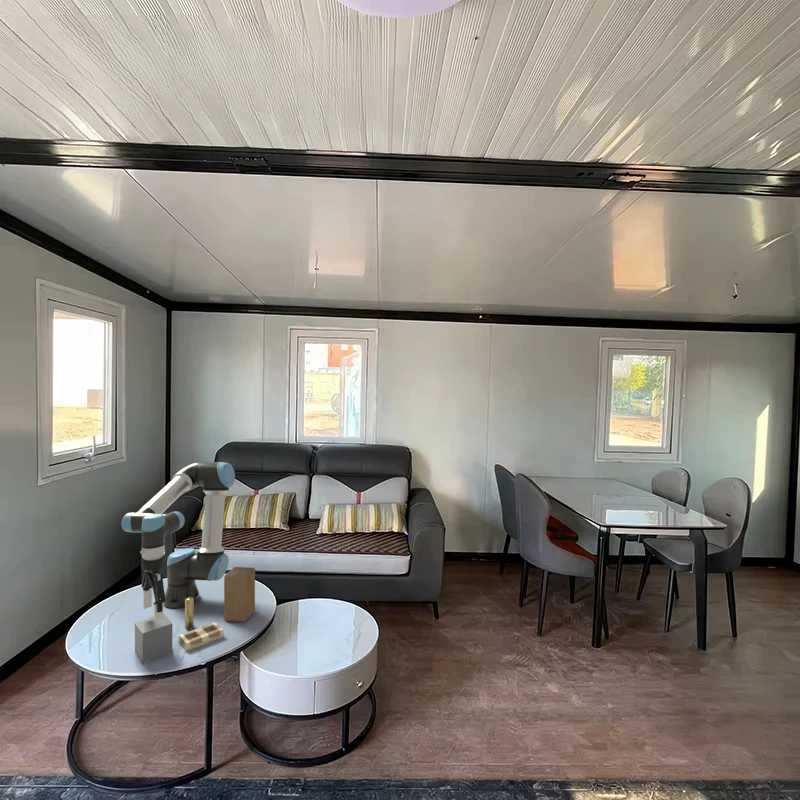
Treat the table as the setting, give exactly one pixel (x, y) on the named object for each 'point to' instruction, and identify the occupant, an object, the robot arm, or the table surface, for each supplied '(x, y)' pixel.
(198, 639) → the board
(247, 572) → the wooden block
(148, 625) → the block
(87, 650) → the table surface
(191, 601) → the pin
